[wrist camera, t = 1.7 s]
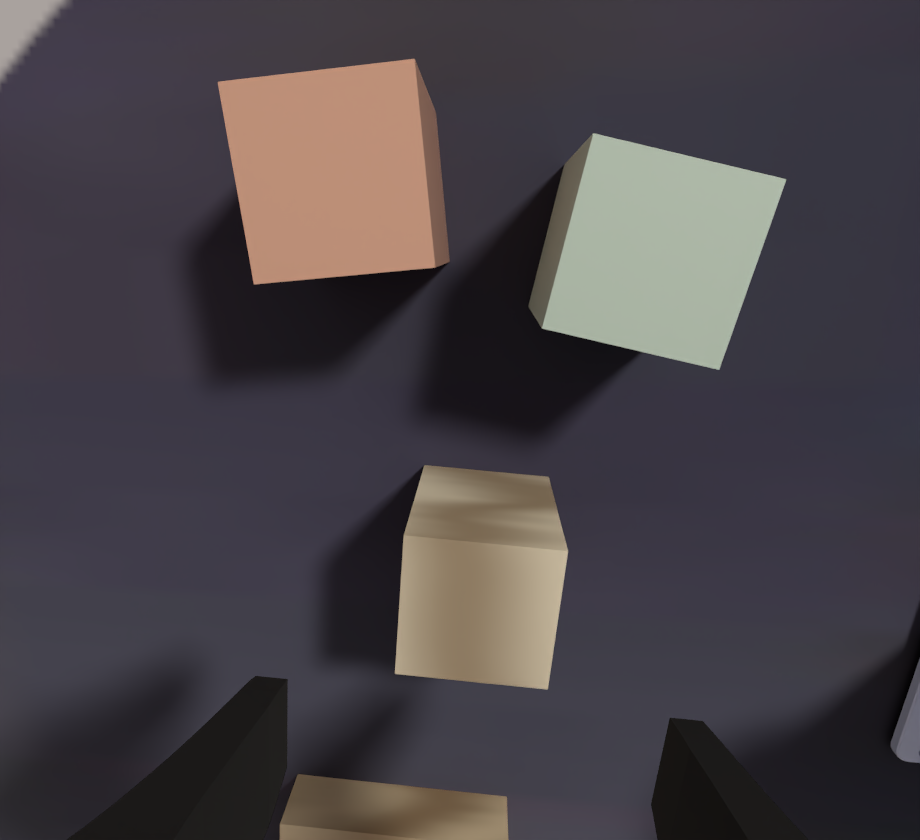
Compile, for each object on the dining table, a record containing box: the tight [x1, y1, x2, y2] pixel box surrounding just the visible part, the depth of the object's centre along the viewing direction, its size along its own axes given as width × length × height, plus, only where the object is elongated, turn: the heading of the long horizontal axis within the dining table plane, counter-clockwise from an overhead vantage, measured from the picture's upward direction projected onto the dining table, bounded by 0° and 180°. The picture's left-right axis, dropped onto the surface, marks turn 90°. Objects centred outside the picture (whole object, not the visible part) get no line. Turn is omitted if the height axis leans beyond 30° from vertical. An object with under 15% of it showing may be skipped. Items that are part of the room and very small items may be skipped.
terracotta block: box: [218, 59, 450, 284], centre depth 15 cm, size 4×4×5 cm
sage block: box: [528, 133, 786, 370], centre depth 15 cm, size 4×4×5 cm
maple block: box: [395, 465, 568, 689], centre depth 18 cm, size 4×4×5 cm
